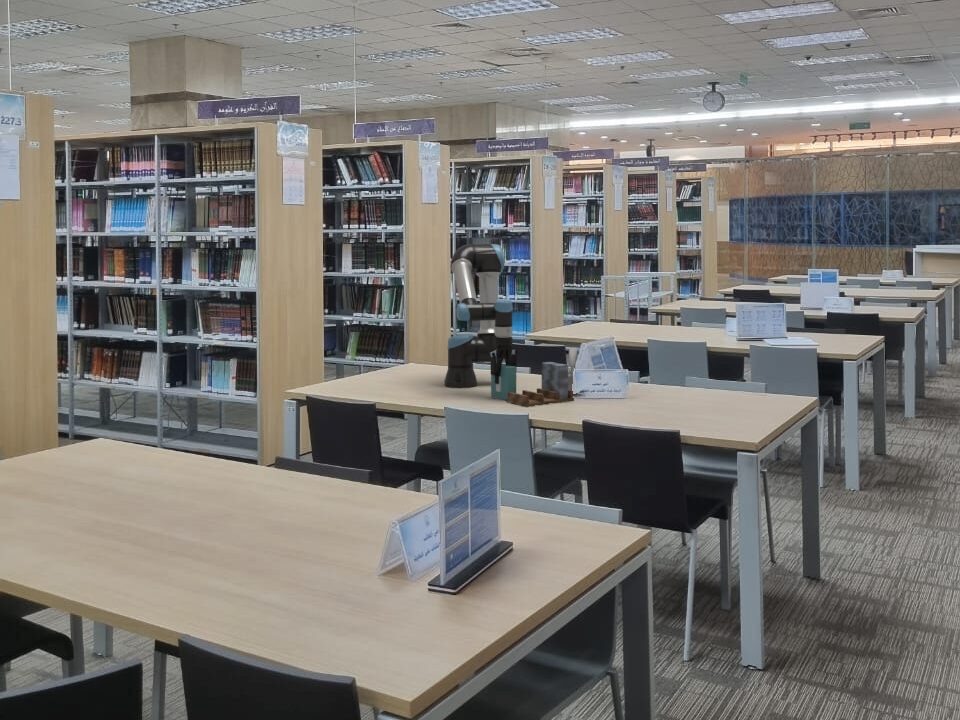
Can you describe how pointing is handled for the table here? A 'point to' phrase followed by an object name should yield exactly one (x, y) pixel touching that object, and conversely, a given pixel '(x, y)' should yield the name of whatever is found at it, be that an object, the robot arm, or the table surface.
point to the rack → (546, 388)
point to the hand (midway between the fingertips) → (503, 390)
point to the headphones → (572, 360)
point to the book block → (504, 382)
